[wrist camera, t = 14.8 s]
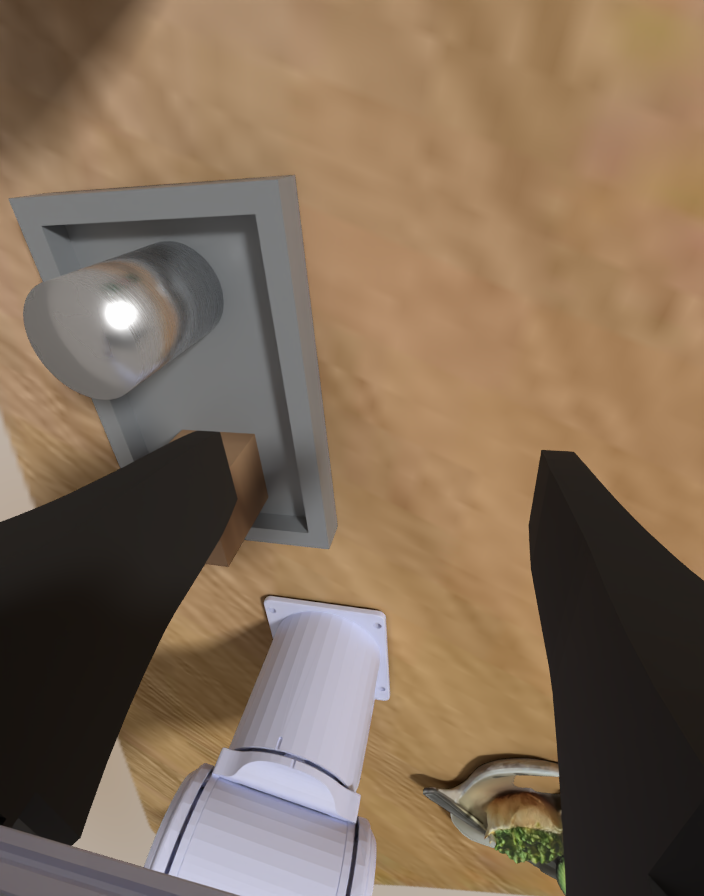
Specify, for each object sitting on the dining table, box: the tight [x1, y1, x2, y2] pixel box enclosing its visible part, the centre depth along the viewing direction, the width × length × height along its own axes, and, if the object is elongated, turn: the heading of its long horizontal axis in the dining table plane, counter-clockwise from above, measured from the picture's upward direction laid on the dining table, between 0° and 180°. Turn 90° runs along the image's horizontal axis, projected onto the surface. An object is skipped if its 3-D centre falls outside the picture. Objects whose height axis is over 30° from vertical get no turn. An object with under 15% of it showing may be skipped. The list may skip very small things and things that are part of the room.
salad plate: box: [423, 758, 566, 896], centre depth 38 cm, size 19×18×5 cm
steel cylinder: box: [23, 241, 224, 400], centre depth 18 cm, size 4×4×6 cm
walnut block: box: [169, 430, 268, 567], centre depth 23 cm, size 4×4×5 cm
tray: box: [9, 175, 338, 549], centre depth 22 cm, size 17×11×2 cm, turn 4°
